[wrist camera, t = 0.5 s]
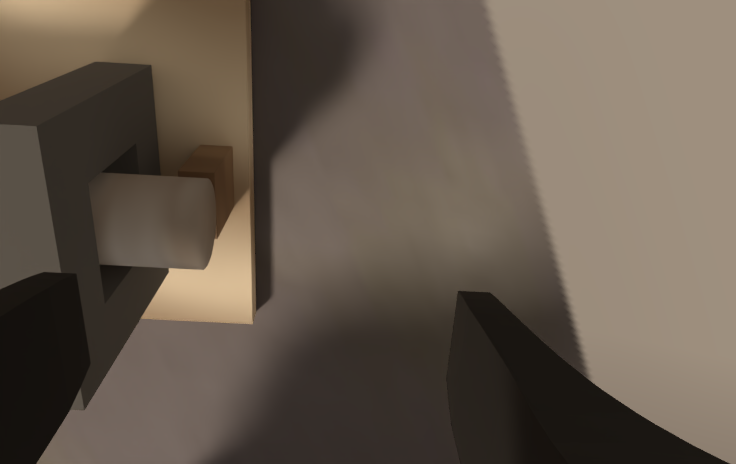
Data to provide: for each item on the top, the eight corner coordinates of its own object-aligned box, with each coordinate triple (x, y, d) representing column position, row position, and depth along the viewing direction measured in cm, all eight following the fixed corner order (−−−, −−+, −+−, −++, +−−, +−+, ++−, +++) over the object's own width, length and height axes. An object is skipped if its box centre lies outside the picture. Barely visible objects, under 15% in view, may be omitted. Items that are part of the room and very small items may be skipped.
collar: (168, 271, 21) (84, 410, 14) (120, 269, 21) (14, 407, 14) (151, 65, 18) (36, 126, 12) (95, 61, 18) (-51, 121, 12)
